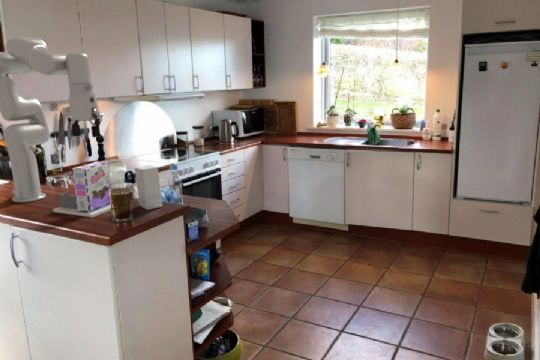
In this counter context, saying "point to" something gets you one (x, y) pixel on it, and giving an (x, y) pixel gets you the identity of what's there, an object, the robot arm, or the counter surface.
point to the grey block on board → (70, 207)
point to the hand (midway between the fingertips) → (86, 136)
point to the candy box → (91, 186)
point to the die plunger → (71, 189)
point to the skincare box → (148, 187)
